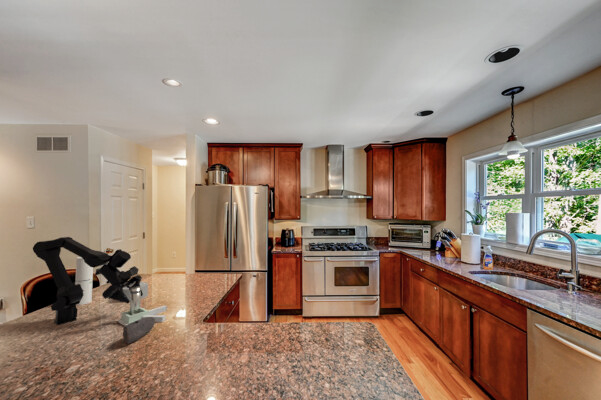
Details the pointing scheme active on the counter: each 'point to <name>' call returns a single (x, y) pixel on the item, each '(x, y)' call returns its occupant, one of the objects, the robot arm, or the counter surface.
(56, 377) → the counter surface
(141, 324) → the perforated stone tool
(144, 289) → the lumpy-topped squat cylinder
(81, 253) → the robot arm
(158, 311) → the shaft rig
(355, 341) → the counter surface
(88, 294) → the cylindrical container
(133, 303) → the shiny grey metal cylinder
